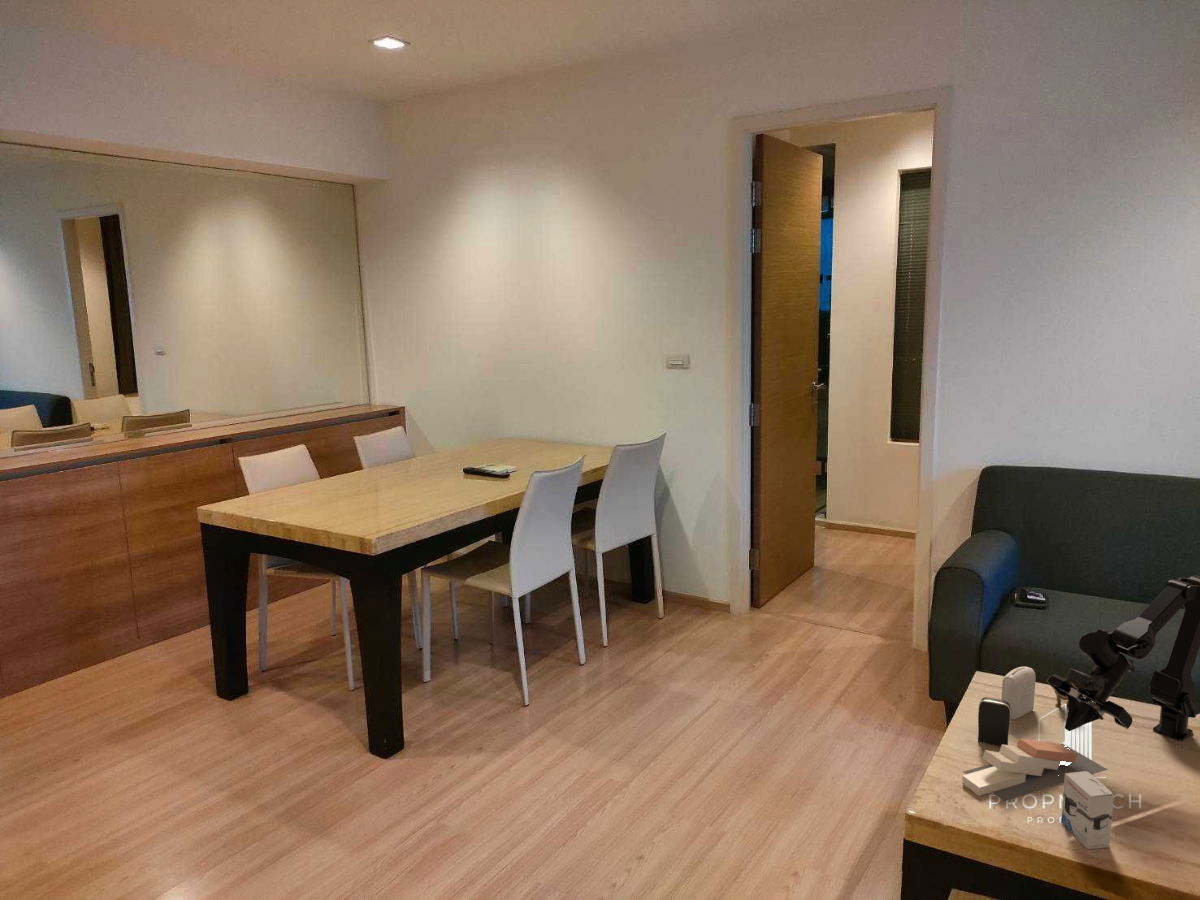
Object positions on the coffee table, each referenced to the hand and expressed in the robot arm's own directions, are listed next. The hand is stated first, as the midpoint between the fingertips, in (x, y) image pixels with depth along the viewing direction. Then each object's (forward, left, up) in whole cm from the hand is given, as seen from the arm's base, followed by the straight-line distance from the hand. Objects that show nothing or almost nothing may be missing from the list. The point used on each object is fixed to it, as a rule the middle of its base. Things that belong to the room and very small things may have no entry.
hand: (1067, 729), depth 191 cm
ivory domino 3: (+5, -1, -6) cm, 8 cm away
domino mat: (+9, -2, -9) cm, 13 cm away
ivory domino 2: (+9, -2, -7) cm, 12 cm away
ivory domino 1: (+14, -4, -7) cm, 16 cm away
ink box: (+22, +15, -9) cm, 28 cm away
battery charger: (+4, -15, -9) cm, 18 cm away
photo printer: (-14, -19, -9) cm, 25 cm away
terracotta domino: (0, 0, -6) cm, 6 cm away
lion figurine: (-29, -13, -9) cm, 33 cm away
